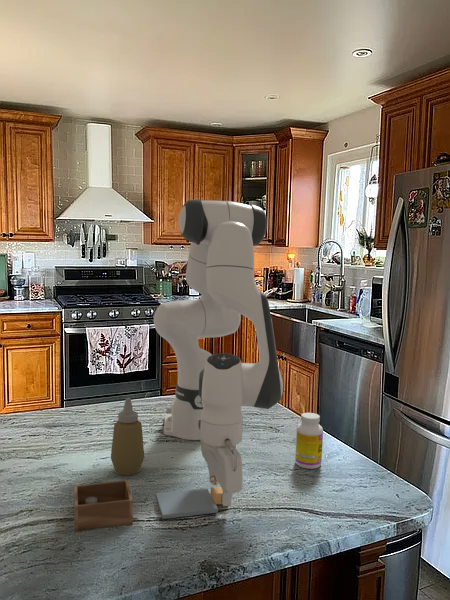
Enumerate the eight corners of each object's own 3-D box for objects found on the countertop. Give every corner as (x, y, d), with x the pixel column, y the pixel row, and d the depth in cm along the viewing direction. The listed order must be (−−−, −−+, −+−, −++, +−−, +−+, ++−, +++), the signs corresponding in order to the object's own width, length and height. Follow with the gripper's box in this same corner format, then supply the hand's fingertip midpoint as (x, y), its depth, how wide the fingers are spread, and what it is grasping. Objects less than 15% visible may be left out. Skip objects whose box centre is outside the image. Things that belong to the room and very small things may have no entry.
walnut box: (74, 508, 109) (74, 485, 108) (128, 502, 112) (128, 480, 111) (74, 531, 100) (74, 506, 100) (132, 524, 103) (133, 500, 103)
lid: (155, 500, 114) (155, 486, 114) (221, 493, 118) (222, 479, 118) (162, 522, 105) (162, 507, 105) (233, 514, 109) (234, 499, 109)
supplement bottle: (320, 471, 130) (323, 421, 129) (294, 468, 132) (296, 418, 130) (321, 460, 137) (324, 412, 135) (295, 457, 138) (298, 410, 137)
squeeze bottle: (150, 467, 130) (151, 396, 128) (134, 480, 122) (134, 405, 120) (121, 461, 132) (121, 392, 130) (103, 474, 125) (104, 401, 123)
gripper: (251, 449, 102) (249, 516, 104) (222, 414, 122) (220, 471, 123) (220, 451, 101) (218, 520, 102) (196, 416, 120) (194, 474, 122)
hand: (219, 493), depth 113 cm, fingers open, 8 cm apart
